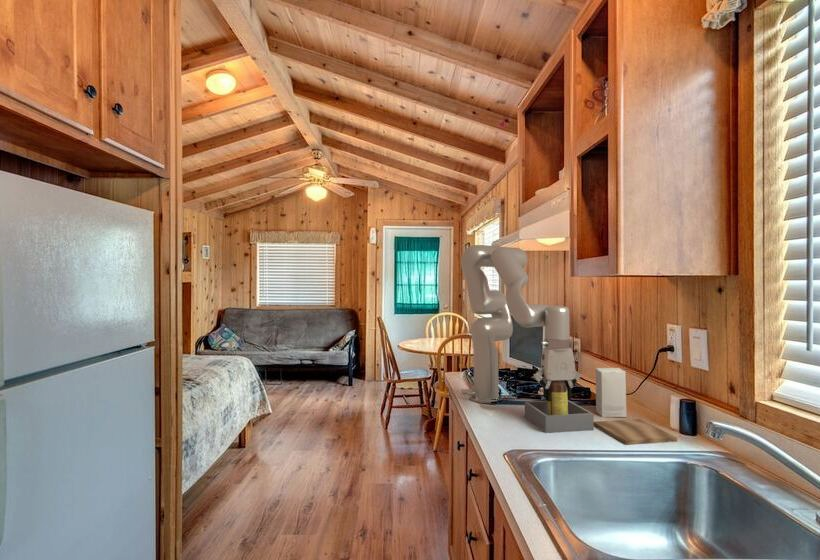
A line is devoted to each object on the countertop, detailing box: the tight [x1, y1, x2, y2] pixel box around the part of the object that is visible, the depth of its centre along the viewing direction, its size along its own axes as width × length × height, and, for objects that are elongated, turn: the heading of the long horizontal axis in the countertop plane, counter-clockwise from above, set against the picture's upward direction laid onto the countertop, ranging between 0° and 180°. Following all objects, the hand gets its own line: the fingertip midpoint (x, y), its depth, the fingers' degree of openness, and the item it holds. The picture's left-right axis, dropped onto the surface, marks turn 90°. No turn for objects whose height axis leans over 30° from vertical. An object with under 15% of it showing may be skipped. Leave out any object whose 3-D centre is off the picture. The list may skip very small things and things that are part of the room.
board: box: [594, 418, 678, 446], centre depth 128 cm, size 16×16×1 cm
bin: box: [524, 400, 595, 434], centre depth 137 cm, size 16×16×5 cm
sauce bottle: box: [546, 381, 568, 415], centre depth 137 cm, size 6×6×20 cm
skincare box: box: [594, 367, 628, 418], centre depth 146 cm, size 8×7×16 cm
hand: (557, 399), depth 137 cm, fingers closed on sauce bottle, 6 cm apart
